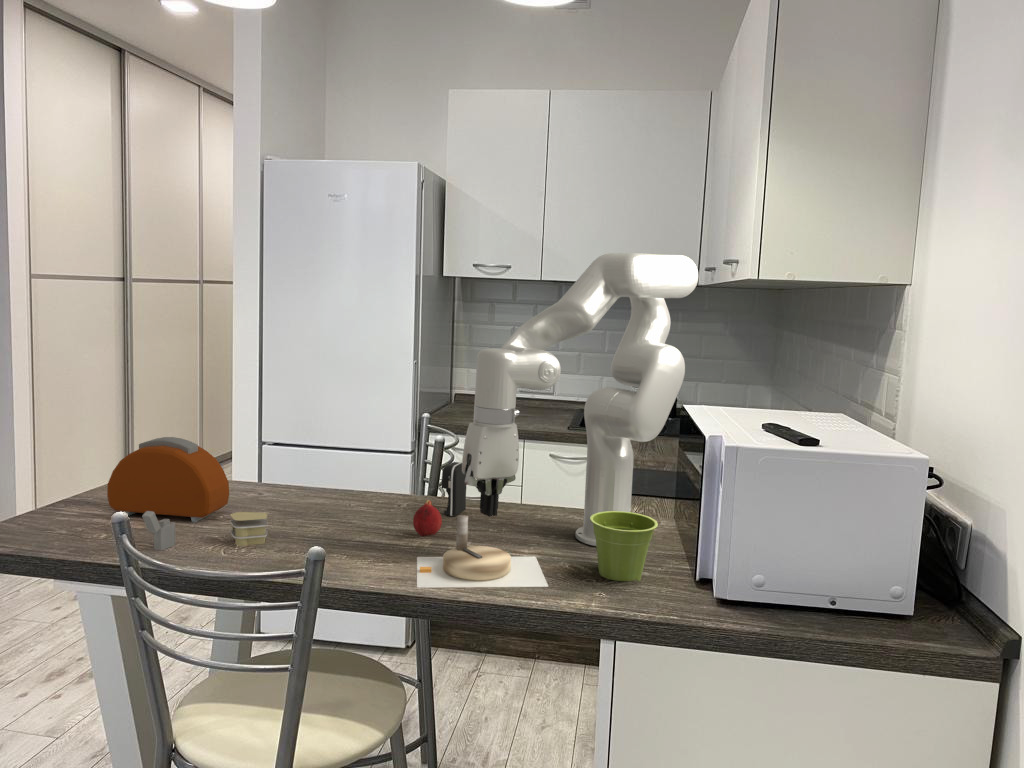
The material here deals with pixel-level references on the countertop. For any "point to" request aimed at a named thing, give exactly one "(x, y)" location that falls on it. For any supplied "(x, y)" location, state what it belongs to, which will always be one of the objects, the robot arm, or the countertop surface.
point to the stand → (520, 575)
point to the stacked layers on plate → (249, 528)
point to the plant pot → (622, 543)
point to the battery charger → (454, 488)
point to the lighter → (160, 530)
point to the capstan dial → (474, 558)
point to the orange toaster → (169, 480)
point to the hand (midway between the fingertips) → (488, 514)
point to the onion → (427, 520)
